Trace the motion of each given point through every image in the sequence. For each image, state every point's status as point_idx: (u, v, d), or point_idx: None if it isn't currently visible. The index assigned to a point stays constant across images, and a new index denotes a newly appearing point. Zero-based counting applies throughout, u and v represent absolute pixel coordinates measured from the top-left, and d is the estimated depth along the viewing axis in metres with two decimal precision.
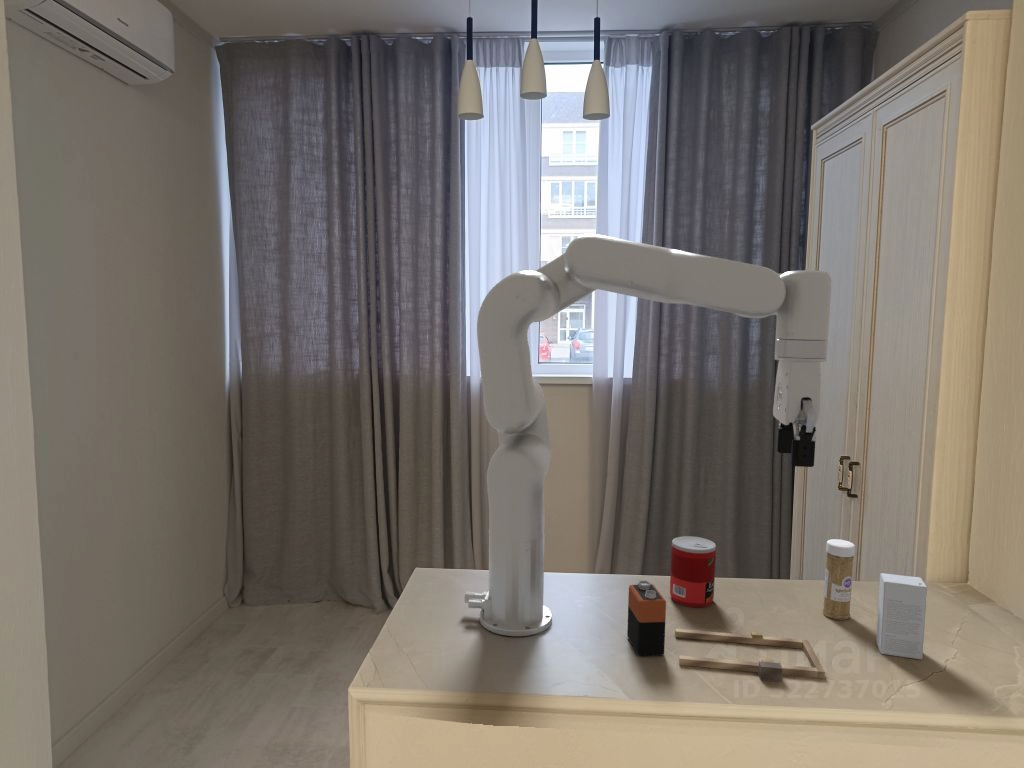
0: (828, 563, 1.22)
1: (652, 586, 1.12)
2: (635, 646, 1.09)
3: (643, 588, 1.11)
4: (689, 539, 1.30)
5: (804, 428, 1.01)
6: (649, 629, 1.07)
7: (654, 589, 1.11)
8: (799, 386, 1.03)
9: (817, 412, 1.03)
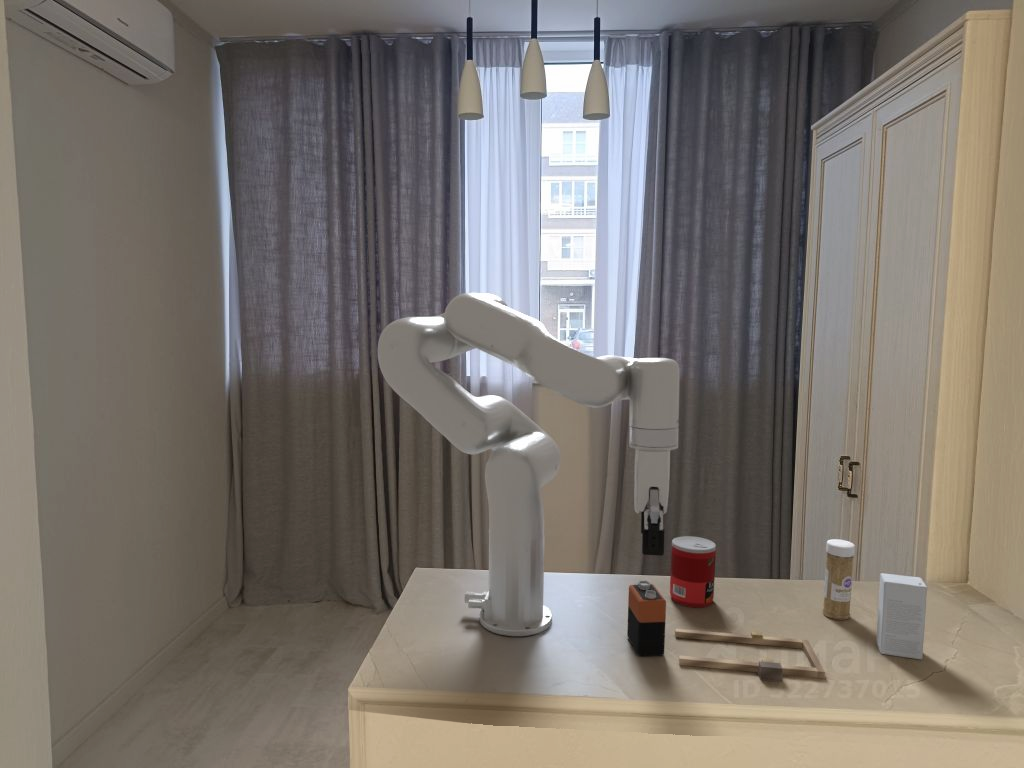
0: (828, 563, 1.22)
1: (652, 586, 1.12)
2: (635, 646, 1.09)
3: (643, 588, 1.11)
4: (689, 539, 1.30)
5: (649, 519, 1.01)
6: (649, 629, 1.07)
7: (654, 589, 1.11)
8: (646, 476, 1.03)
9: (665, 501, 1.03)
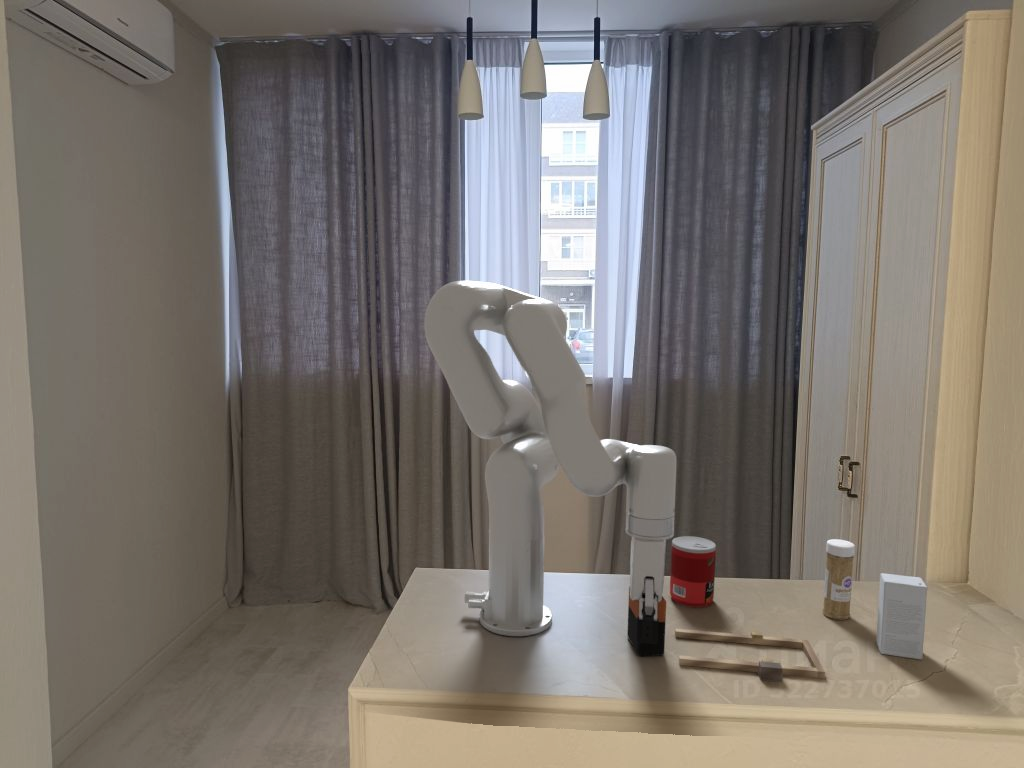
0: (828, 563, 1.22)
1: None
2: (635, 646, 1.09)
3: None
4: (689, 539, 1.30)
5: (644, 612, 1.03)
6: None
7: None
8: (642, 565, 1.04)
9: (660, 591, 1.05)
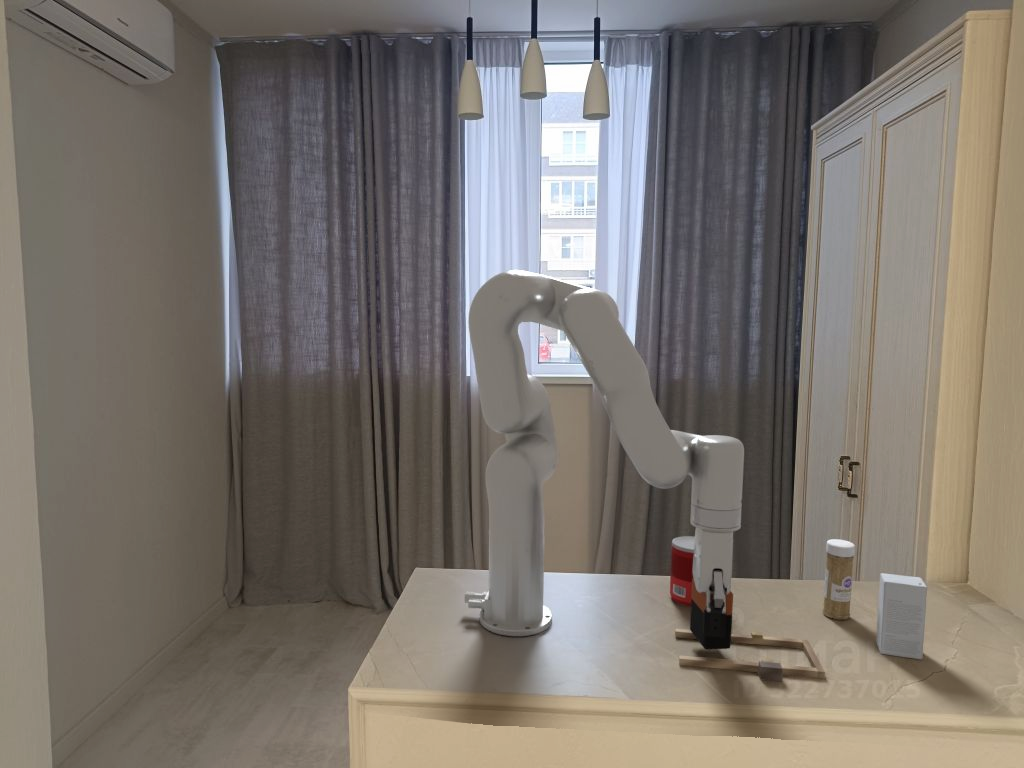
0: (828, 563, 1.22)
1: None
2: (700, 639, 1.07)
3: None
4: (689, 539, 1.30)
5: (713, 604, 1.01)
6: None
7: None
8: (710, 557, 1.03)
9: (729, 583, 1.03)
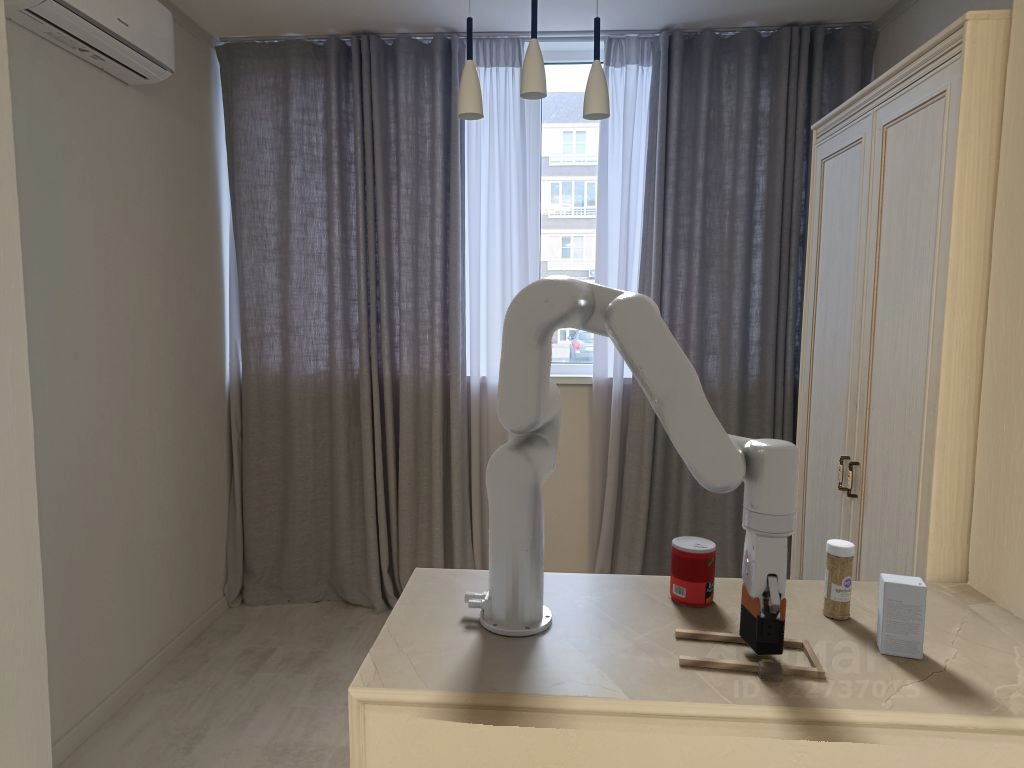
0: (828, 563, 1.22)
1: None
2: (752, 645, 1.06)
3: None
4: (689, 539, 1.30)
5: (768, 610, 1.00)
6: None
7: None
8: (765, 562, 1.01)
9: (783, 588, 1.01)
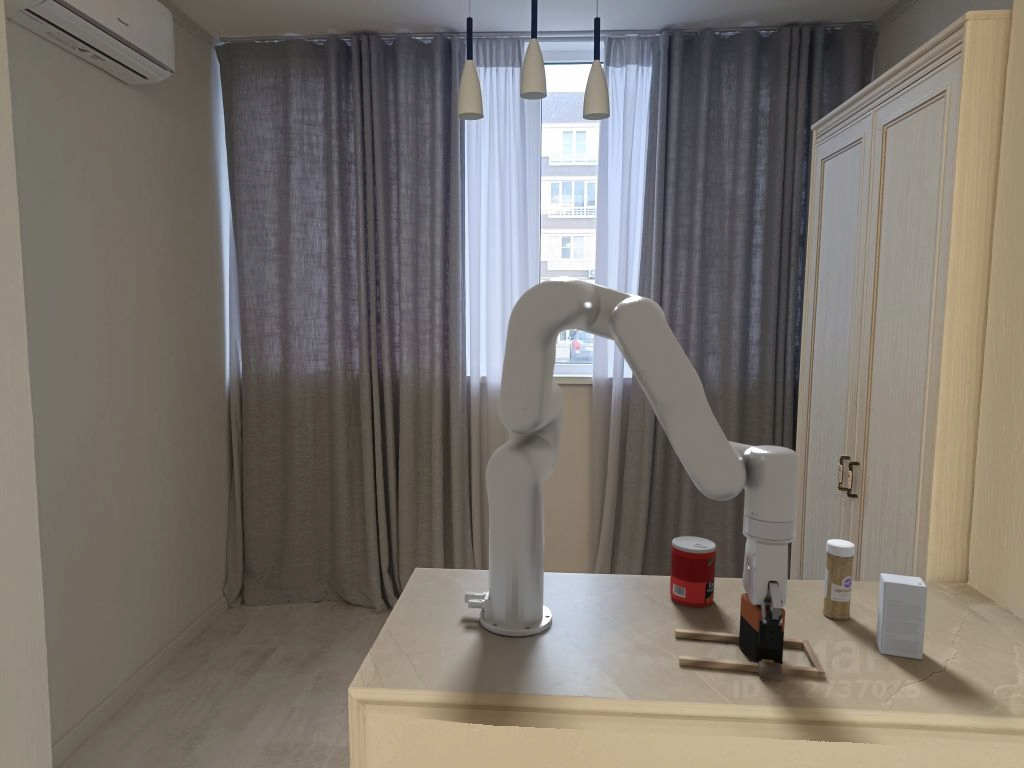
0: (828, 563, 1.22)
1: None
2: (751, 656, 1.06)
3: None
4: (689, 539, 1.30)
5: (770, 615, 0.99)
6: None
7: None
8: (766, 569, 1.01)
9: (784, 595, 1.01)
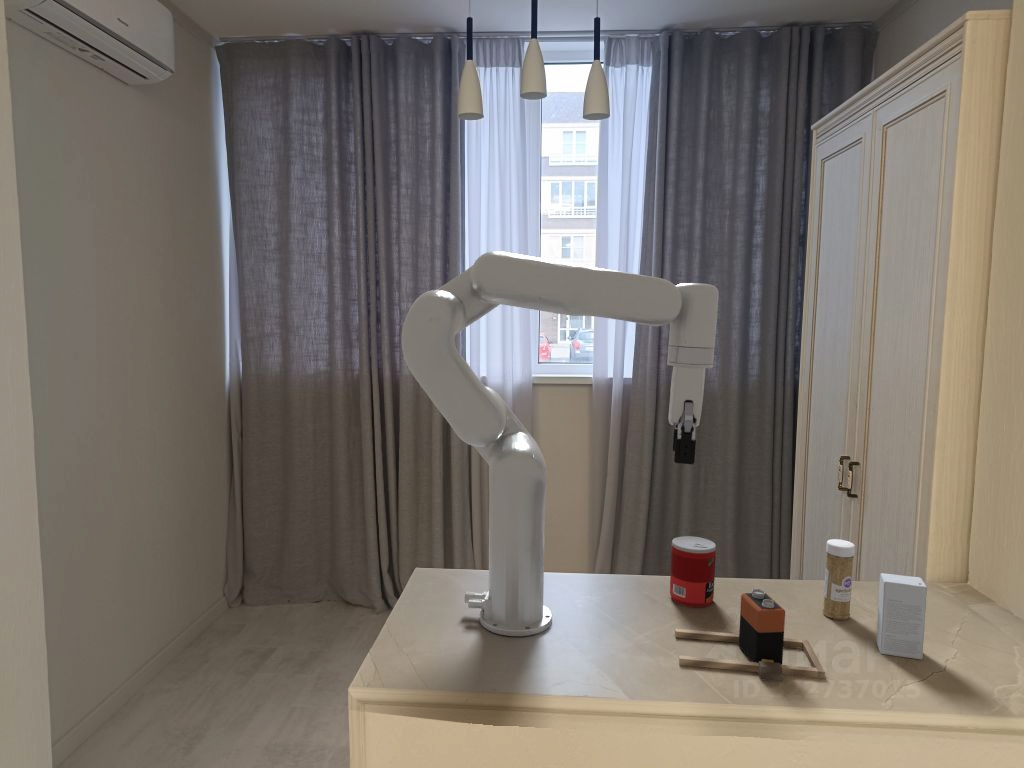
0: (828, 563, 1.22)
1: (766, 595, 1.09)
2: (751, 656, 1.06)
3: (758, 597, 1.08)
4: (689, 539, 1.30)
5: (683, 428, 1.09)
6: (767, 639, 1.04)
7: (769, 598, 1.08)
8: (682, 389, 1.11)
9: (698, 414, 1.11)
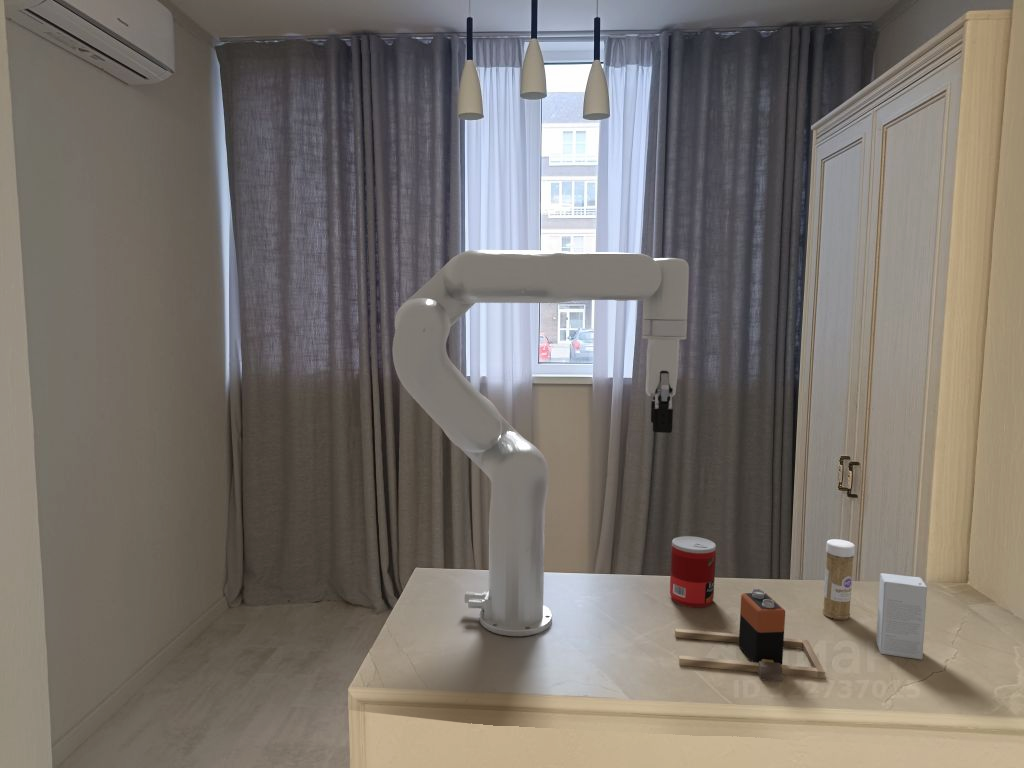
0: (828, 563, 1.22)
1: (766, 595, 1.09)
2: (751, 656, 1.06)
3: (758, 597, 1.08)
4: (689, 539, 1.30)
5: (660, 397, 1.14)
6: (767, 639, 1.04)
7: (769, 598, 1.08)
8: (658, 361, 1.16)
9: (674, 384, 1.16)
